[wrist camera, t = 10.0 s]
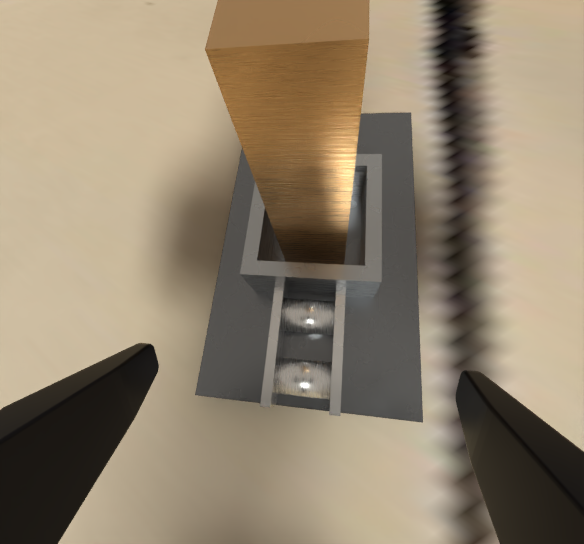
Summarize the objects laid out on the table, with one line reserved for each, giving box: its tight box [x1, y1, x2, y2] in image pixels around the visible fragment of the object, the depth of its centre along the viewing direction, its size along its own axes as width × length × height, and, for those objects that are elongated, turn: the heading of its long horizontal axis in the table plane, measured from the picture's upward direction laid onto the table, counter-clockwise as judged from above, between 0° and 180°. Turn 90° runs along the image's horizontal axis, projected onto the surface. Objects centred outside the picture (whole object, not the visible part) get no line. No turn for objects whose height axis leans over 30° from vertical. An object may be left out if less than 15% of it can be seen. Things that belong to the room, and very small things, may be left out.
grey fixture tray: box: [195, 113, 423, 422], centre depth 18 cm, size 20×12×4 cm, turn 174°
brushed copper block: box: [205, 0, 369, 265], centre depth 13 cm, size 4×4×13 cm
